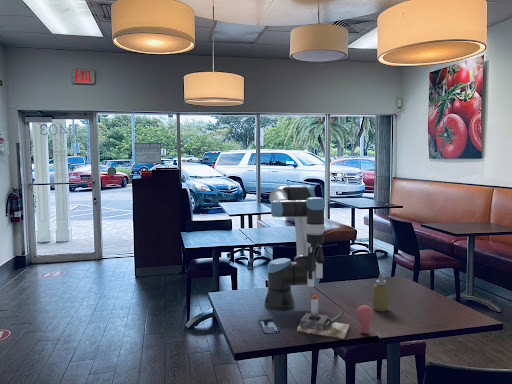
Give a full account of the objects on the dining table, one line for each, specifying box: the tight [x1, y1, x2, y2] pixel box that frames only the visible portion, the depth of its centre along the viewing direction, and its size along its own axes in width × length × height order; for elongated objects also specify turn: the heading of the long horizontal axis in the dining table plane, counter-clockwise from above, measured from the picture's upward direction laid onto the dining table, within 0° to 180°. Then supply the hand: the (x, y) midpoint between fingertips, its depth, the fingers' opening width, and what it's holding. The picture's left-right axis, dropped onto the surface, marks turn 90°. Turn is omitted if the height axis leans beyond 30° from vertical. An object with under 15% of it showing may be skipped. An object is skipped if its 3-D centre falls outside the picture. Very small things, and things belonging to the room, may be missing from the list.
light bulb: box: [355, 304, 375, 334], centre depth 174 cm, size 7×7×12 cm
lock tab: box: [327, 311, 345, 327], centre depth 176 cm, size 9×5×1 cm
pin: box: [310, 292, 319, 321], centre depth 180 cm, size 3×3×14 cm
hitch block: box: [296, 312, 350, 340], centre depth 178 cm, size 20×12×4 cm, turn 67°
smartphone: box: [257, 317, 282, 334], centre depth 182 cm, size 7×1×15 cm
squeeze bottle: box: [371, 272, 390, 312], centre depth 201 cm, size 8×8×18 cm
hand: (315, 281), depth 178 cm, fingers open, 13 cm apart
